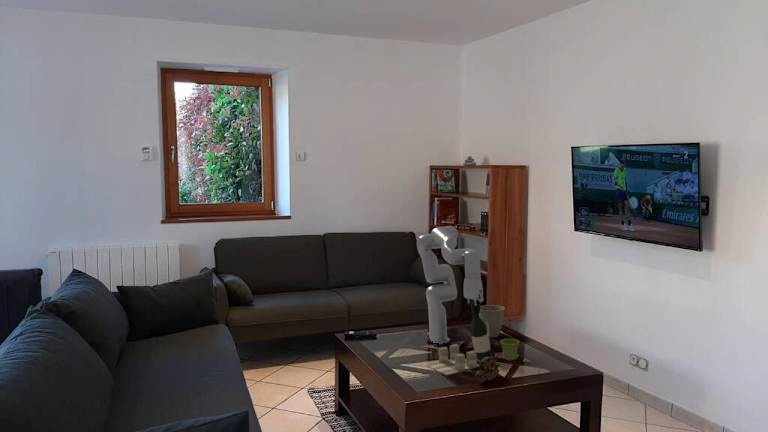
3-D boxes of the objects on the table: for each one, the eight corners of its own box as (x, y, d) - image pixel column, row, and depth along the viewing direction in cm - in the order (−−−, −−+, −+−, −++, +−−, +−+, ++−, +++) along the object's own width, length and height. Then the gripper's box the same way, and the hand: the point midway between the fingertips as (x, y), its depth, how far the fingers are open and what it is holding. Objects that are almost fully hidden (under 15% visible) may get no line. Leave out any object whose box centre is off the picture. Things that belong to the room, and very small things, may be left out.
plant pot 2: (521, 356, 290) (521, 339, 289) (517, 362, 282) (517, 345, 281) (503, 354, 294) (502, 338, 293) (498, 360, 285) (498, 343, 285)
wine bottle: (489, 350, 295) (478, 296, 289) (494, 357, 287) (483, 301, 281) (473, 355, 294) (462, 300, 288) (478, 362, 286) (467, 305, 280)
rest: (426, 366, 282) (426, 351, 282) (459, 358, 292) (459, 343, 292) (446, 375, 269) (445, 359, 268) (480, 366, 278) (479, 351, 278)
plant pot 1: (508, 338, 321) (507, 310, 320) (481, 340, 321) (480, 311, 320) (502, 331, 336) (501, 304, 334) (477, 332, 336) (476, 305, 335)
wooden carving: (484, 386, 253) (483, 364, 252) (475, 384, 256) (474, 362, 255) (502, 375, 265) (502, 353, 265) (493, 373, 268) (493, 352, 268)
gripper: (456, 274, 289) (458, 310, 290) (477, 278, 275) (479, 316, 276) (468, 272, 293) (469, 308, 294) (490, 276, 279) (491, 314, 280)
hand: (474, 312), depth 285 cm, fingers closed on wine bottle, 3 cm apart
